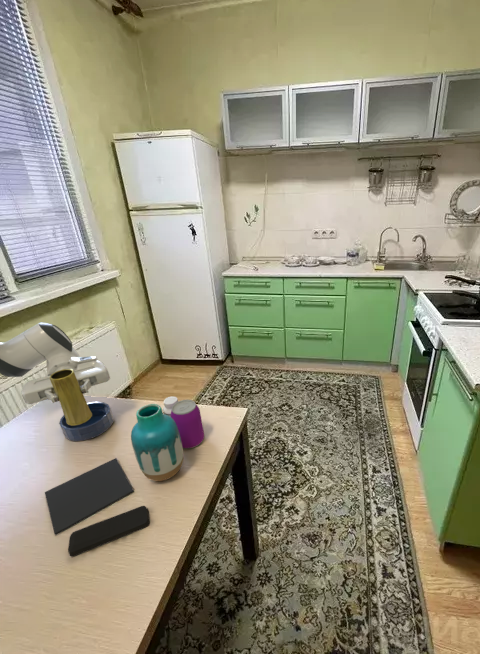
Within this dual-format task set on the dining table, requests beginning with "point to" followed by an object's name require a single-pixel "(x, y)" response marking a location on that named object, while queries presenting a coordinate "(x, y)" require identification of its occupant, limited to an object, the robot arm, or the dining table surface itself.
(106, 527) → the remote control
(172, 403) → the pill bottle
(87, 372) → the robot arm
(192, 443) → the beverage can
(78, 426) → the bowl
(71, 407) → the vase
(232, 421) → the dining table surface
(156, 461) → the vase
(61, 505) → the mat
